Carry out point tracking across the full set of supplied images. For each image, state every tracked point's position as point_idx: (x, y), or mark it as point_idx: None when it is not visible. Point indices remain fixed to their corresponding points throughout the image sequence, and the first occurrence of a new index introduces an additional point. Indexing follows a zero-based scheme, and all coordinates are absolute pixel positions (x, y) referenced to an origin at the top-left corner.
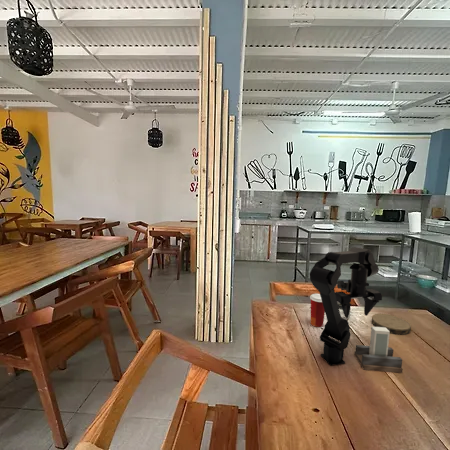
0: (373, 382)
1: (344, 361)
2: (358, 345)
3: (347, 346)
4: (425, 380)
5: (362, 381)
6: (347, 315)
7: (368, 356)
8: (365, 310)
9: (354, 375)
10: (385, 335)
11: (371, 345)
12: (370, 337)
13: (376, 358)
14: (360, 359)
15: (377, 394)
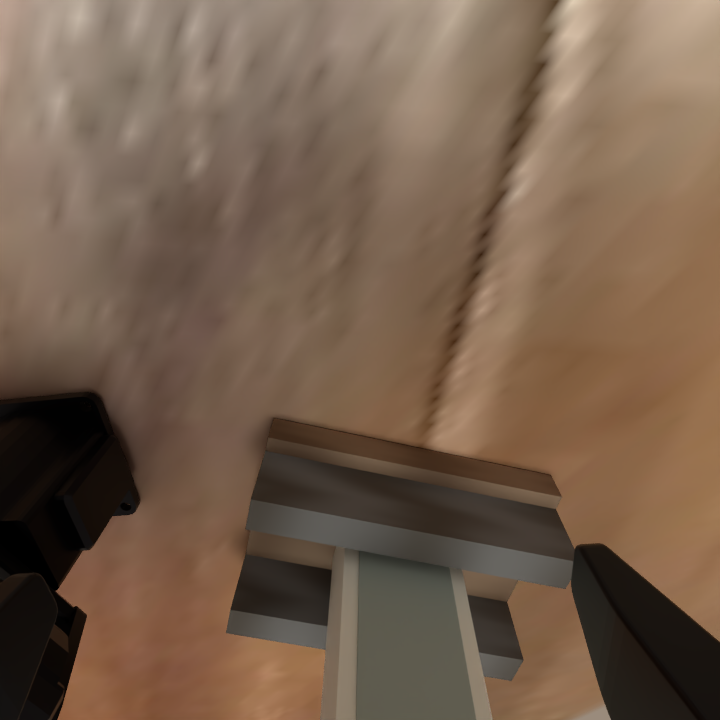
0: (241, 643)
1: (132, 506)
2: (272, 510)
3: (82, 622)
4: (566, 657)
5: (180, 632)
6: (2, 701)
7: (266, 634)
8: (630, 679)
9: (154, 594)
10: None
11: (332, 639)
12: (338, 679)
13: (324, 643)
14: (254, 531)
15: (211, 697)
